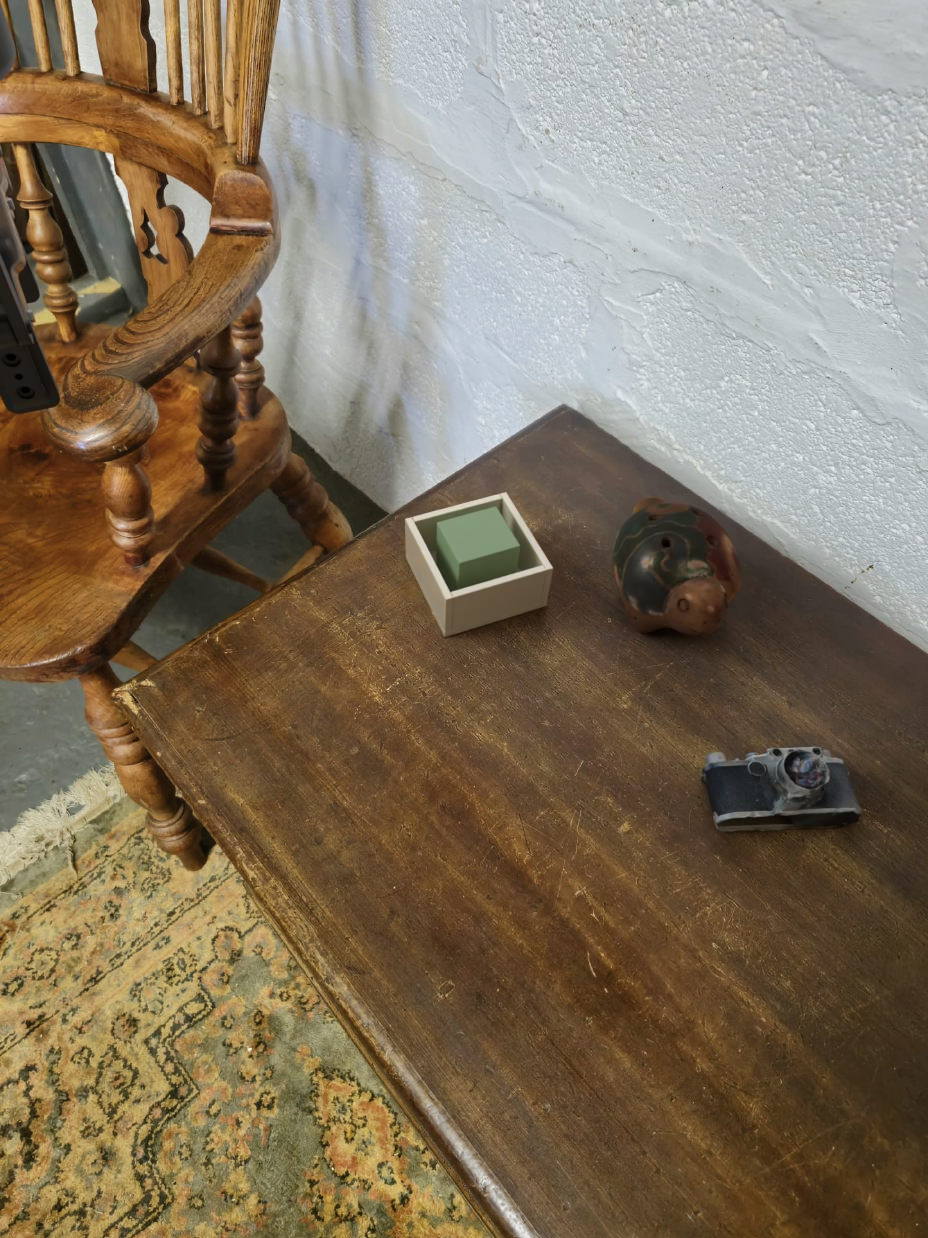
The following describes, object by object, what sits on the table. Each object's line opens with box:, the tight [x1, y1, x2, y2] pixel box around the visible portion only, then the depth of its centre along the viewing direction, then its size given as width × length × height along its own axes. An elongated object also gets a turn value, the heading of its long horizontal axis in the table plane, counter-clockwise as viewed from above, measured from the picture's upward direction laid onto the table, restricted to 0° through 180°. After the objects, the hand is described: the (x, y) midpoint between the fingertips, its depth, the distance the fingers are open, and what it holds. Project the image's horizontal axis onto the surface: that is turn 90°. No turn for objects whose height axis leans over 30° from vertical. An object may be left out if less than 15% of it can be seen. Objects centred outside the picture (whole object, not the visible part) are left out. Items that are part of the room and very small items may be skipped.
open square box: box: [404, 491, 554, 638], centre depth 66 cm, size 9×9×5 cm
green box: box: [436, 507, 520, 593], centre depth 66 cm, size 5×4×5 cm
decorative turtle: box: [611, 496, 742, 636], centre depth 65 cm, size 10×15×8 cm, turn 12°
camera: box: [699, 746, 863, 833], centre depth 56 cm, size 5×10×4 cm, turn 93°
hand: (26, 350), depth 39 cm, fingers open, 8 cm apart
